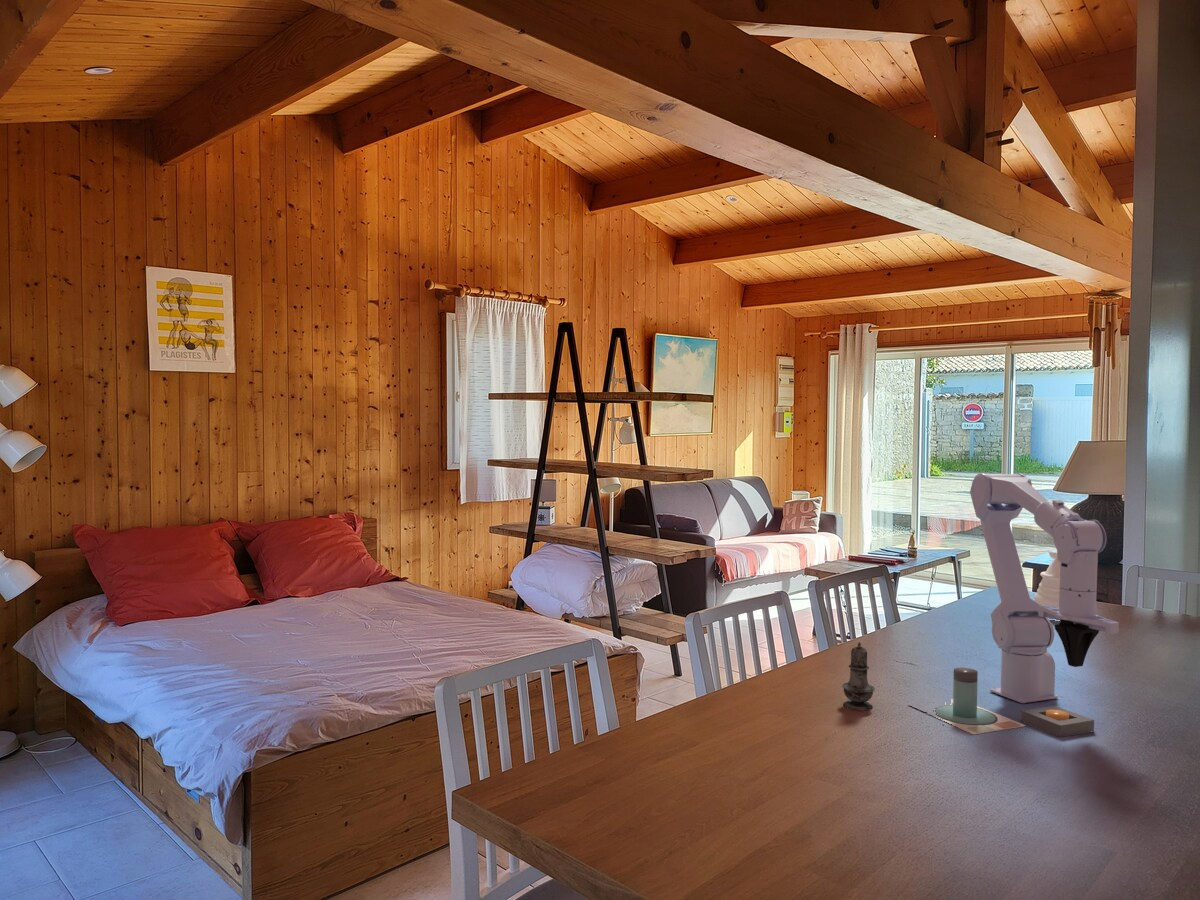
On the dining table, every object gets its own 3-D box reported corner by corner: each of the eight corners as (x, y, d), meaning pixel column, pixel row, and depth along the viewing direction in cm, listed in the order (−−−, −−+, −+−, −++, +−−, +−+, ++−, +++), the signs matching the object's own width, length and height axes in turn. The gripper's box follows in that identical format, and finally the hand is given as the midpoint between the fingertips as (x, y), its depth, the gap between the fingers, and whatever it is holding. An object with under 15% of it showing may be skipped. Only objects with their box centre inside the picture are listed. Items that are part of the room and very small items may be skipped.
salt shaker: (876, 712, 159) (877, 647, 158) (842, 709, 160) (844, 645, 160) (872, 702, 165) (874, 639, 164) (840, 699, 166) (841, 637, 165)
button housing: (1054, 716, 158) (1054, 705, 158) (1093, 731, 150) (1094, 719, 150) (1021, 721, 155) (1021, 710, 155) (1059, 737, 147) (1060, 725, 147)
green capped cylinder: (965, 709, 160) (966, 666, 160) (981, 716, 157) (982, 672, 156) (947, 712, 159) (948, 668, 159) (964, 719, 155) (965, 674, 155)
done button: (1055, 717, 155) (1056, 708, 155) (1073, 724, 152) (1073, 715, 152) (1040, 719, 154) (1041, 710, 154) (1058, 726, 150) (1058, 717, 150)
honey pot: (1042, 621, 234) (1044, 554, 233) (1027, 611, 246) (1029, 547, 246) (1094, 623, 232) (1096, 556, 231) (1076, 613, 244) (1078, 549, 244)
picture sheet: (957, 698, 167) (957, 697, 167) (1026, 726, 153) (1026, 725, 153) (907, 705, 163) (907, 704, 163) (973, 734, 148) (973, 733, 148)
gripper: (1026, 582, 158) (1024, 656, 159) (1098, 598, 145) (1096, 679, 145) (1055, 580, 161) (1053, 653, 162) (1128, 595, 148) (1126, 675, 148)
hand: (1075, 665), depth 154 cm, fingers closed
